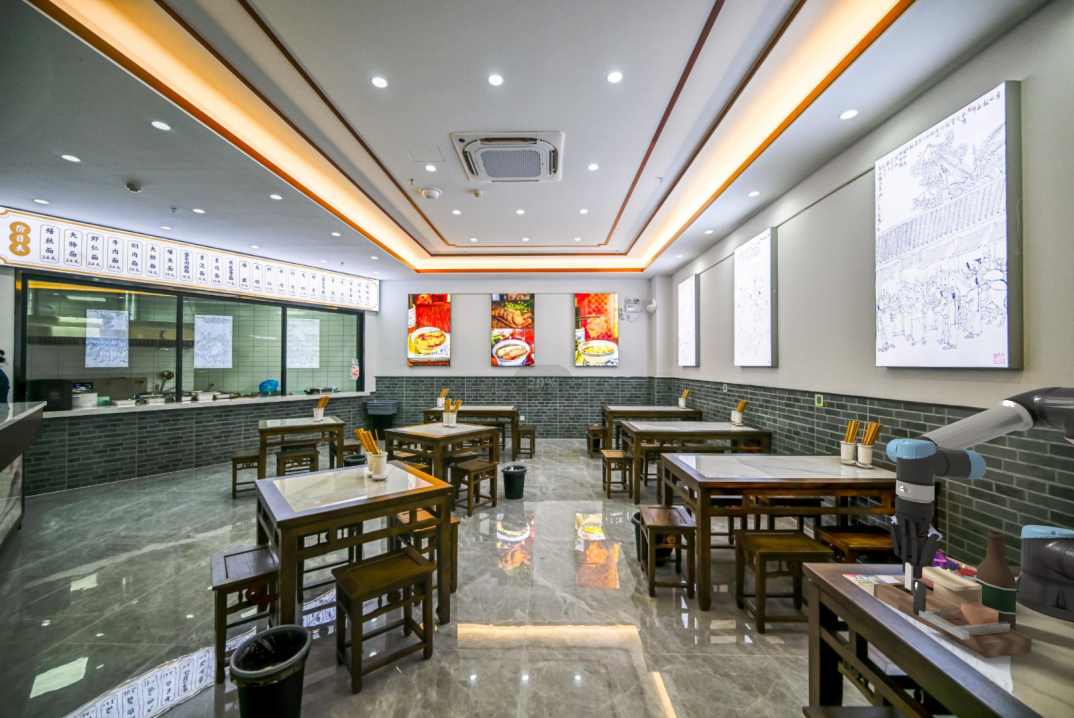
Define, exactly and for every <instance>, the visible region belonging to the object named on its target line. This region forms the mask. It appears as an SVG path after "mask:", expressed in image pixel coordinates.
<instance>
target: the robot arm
mask: <svg viewBox="0 0 1074 718" xmlns="http://www.w3.org/2000/svg"><path fill="white" fill-rule="evenodd" d="M1035 428H1051V429H1061V430H1063V438H1064V439H1065V440H1066V441H1068V442H1070V443H1072V444H1073V445H1074V387H1068V386H1067V387H1064V386H1063V387H1062V386H1048V387H1041V388H1036V389H1031V390H1028V391H1025V392H1021V393H1018V394H1015V395H1012V396H1009V397H1006V398H1004V399H1001V400H999V401H997V402H995V403H994V405H993V407H992V408H988V409H986V410H984V411H981V412H978V413H976V414H973V415H970V416H968V417H965V418H963V419H961V420H957V421H955V422H952V423H950V424H947V425H945V426H942V427H940V428H937V429H934V430H932V431H929V432H925V433H923V434H921V435H919V436H916V437H913V438H894V439H892V440H891V441H889V442H888V443H887V445H886V449H885V450H886V451H885V452H886V454H887V457H888V459H890V460H891V461H892V462H894V463H896V469H895V472H896V476H895V477H896V478H895V479H896V480H895V481H896V483H895V494H896V496H895V505H894V506H895V507H894V508H895V510H896V512H895V513H894V515H893V516H886V517H885V521H886V523H887V524H888V525H887V526H888V527H889V532H890V537H891V543H892V547H893V551H894V552H893V553H894V554H895V555H894V556H896V557H899V558H900V559H901V560H902V573H903V574H904V582H905V588H907V589H909V590H914V580H919V579H922V572H923V567H931V566H932V564H933V561H934V558H935V555H936V552H937V550H938V549H939V545H940V543H941V542H942V541H943V540H944V539H945V537H946V536H945V534H944V533H941V532H940V533H939V532H938V531H937V530H936V529H935V524H934V523H933V518H934V513H935V511H934V510H935V504H934V501H935V480H936V478H943V479H944V478H945V479H957V480H960V479H961V480H978V479H981V478H982V477H984V475H985V474H986V471H987V462H986V460H985V459H984V457H983V456H982V455H981V454H980V453H978V452H976V451H974V450H967V449H970V448H972V447H974V446H978V445H980V444H983V443H984V442H987V441H990V440H991V441H992V440H993V439H995V438H998V437H1001V436H1004V435H1007V434H1009V433H1011V432H1014V431H1017V432H1025V431H1028V430H1031V429H1035ZM927 537H928V538H927ZM925 541H926V542H925ZM1015 581H1016V603H1018V604H1020V605H1023V606H1024V607H1027V608H1030V609H1031V610H1033V611H1036V612H1038V613H1042V614H1044V615H1048V616H1050V617H1054V618H1057V619H1061V620H1065V621H1070V622H1074V529H1068V528H1061V527H1056V526H1048V525H1041V524H1040V525H1036V524H1028V525H1027V524H1026V525H1024V526H1023V527H1022V529H1021V535H1020V573H1019V575H1018V577H1017V578H1016V579H1015Z"/></svg>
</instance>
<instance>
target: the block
mask: <svg viewBox="0 0 1074 718" xmlns="http://www.w3.org/2000/svg"><path fill="white" fill-rule="evenodd" d="M961 620H963V621H965V622H967V623H969V624H971V625H974V624H985V623H996V622H998V612H997V611H994V610H992V609H990V608H988V607H986V606H983V605H981V604H979V603H977V602H973V603H961Z"/></svg>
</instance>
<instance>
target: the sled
mask: <svg viewBox="0 0 1074 718" xmlns="http://www.w3.org/2000/svg"><path fill="white" fill-rule="evenodd" d="M926 589H927V585H926V583H925V582H923V581H920V580H914V593H913V613H914V614H915V615H918V616H920V617H922V618H924V619H925V620H927V621H929V622H931V623H933V624H935V625H937V626H938V627H940V628H942V629H944V630H946V631H948V632H949V633H951V634H953V635H955V636H957V637H959V638H961V639H962V640H964V639H969V636H973V635H983V634H993V633H1003V632H1010V623H1008V622H996V623H985V624H974V625H964V626H956V625H954V624H952V623H950V622H948V621H946V620H944V619H956V618H961V608H955V609H943V610H931V611H927V610H926Z"/></svg>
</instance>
